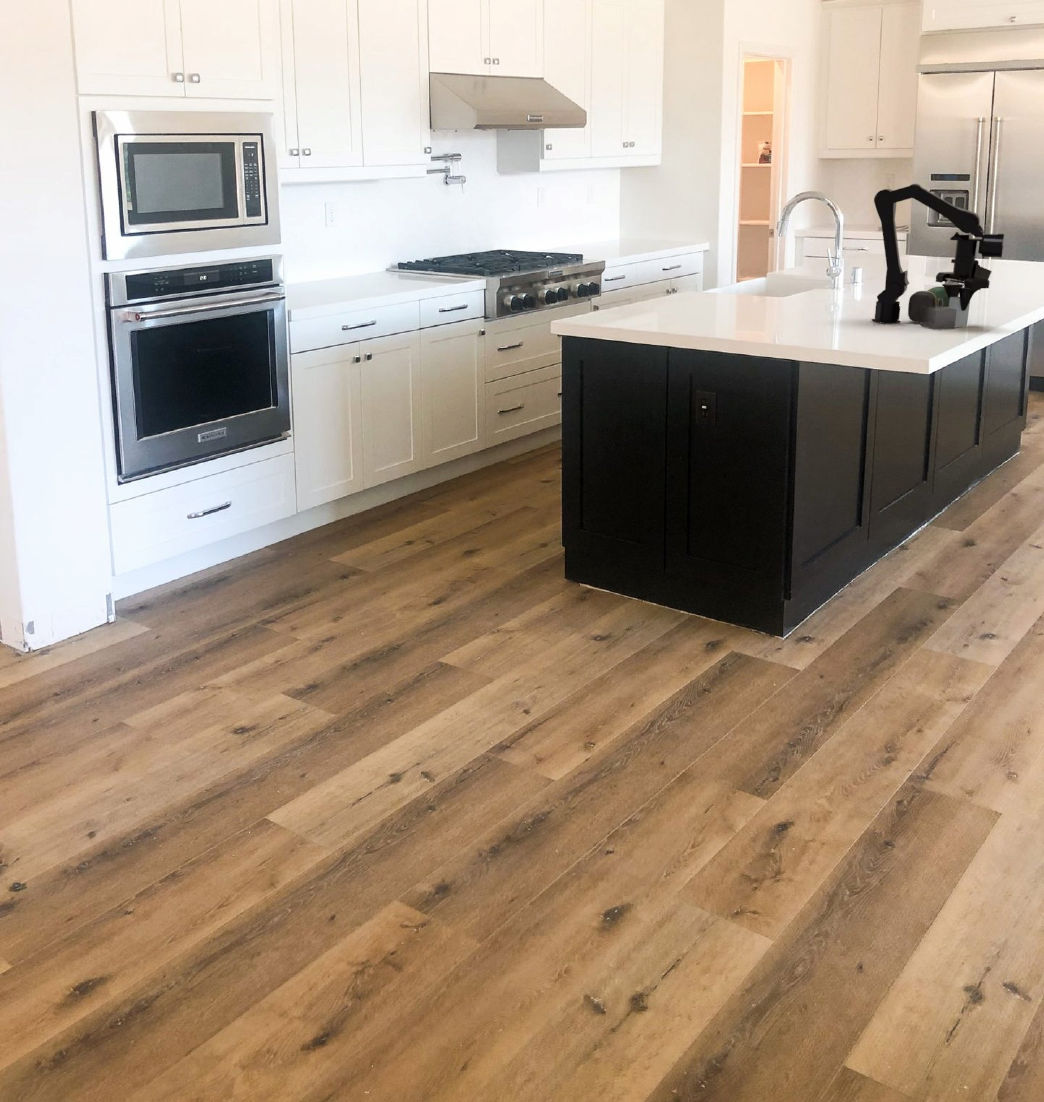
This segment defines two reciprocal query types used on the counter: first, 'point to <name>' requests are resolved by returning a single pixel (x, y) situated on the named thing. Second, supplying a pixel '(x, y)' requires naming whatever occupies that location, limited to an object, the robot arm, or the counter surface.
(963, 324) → the end cover
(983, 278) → the robot arm
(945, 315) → the housing
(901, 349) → the counter surface
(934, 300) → the coffee jar
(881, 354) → the counter surface
